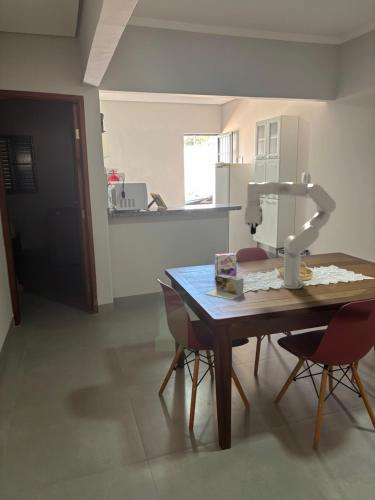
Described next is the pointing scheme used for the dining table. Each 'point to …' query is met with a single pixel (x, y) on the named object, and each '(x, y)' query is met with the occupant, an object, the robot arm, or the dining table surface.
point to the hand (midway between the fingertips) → (253, 233)
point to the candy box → (225, 264)
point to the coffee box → (229, 284)
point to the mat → (223, 294)
